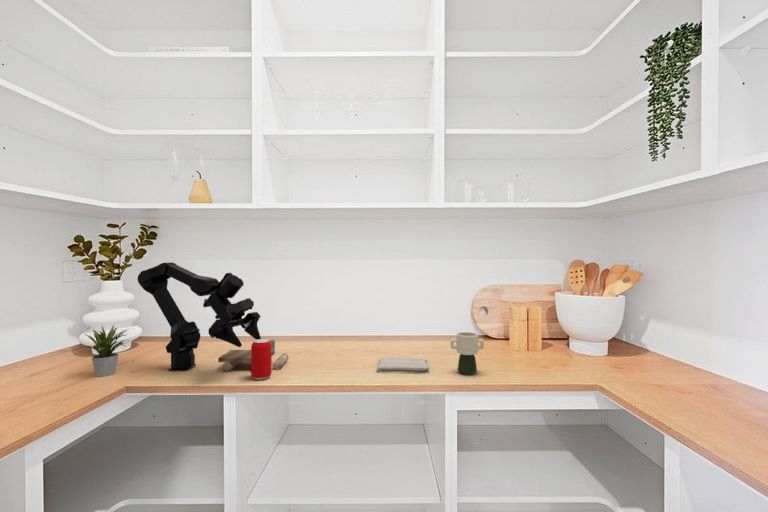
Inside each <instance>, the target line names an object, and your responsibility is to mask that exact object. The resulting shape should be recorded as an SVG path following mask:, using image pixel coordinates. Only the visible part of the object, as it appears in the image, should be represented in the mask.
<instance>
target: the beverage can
mask: <svg viewBox="0 0 768 512" xmlns="http://www.w3.org/2000/svg"><path fill="white" fill-rule="evenodd" d="M250 348H251V349H250V350H251V362H250V363H251V364H250V366H251V367H250V369H251V370H250V371H251V372H250V373H251V374H250V375H251V378H252V379H255V380H257V381H263V379H264V380H266V379H268V378H270V377H271V375H272V357H271V343H270V340H269V339H266V338H261V339H258V340H256V339H255V340H254V341H253V342H252V344H251V346H250Z"/></svg>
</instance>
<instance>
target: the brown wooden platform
mask: <svg viewBox="0 0 768 512" xmlns="http://www.w3.org/2000/svg"><path fill="white" fill-rule="evenodd" d="M269 341H270V343H271V358H272V357H273V356H274V355H275V354H276V353H275V352H276V351H275V349H276V348H275V347H276V343H275V342H276V340H273V339H270V340H269ZM217 359H218V360H217V361H218V362H217V363H222V365H221V367H220V368H221V370H222V371H223V373H228V372H230V371H231V370H232V369H234V368H235V367H236V366H238V365H239V364H241V363H251V349H230V350H229V351H227V352H225V353H224V354H222V355H220V356H219V357H218V358H217Z"/></svg>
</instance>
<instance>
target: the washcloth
mask: <svg viewBox="0 0 768 512" xmlns="http://www.w3.org/2000/svg"><path fill="white" fill-rule="evenodd" d="M376 367H377V368H376V372H377V373H379V372H413V373H412V374H420V373H428V374H429V369H430V365H429V360H427V359H426V358H424V357H423V358H417V357H413V356H407V357H406V356H405V357H404V356H403V357H402V356H401V357H400V356H384V357H380V358H379V360H378V364H377V366H376Z"/></svg>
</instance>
